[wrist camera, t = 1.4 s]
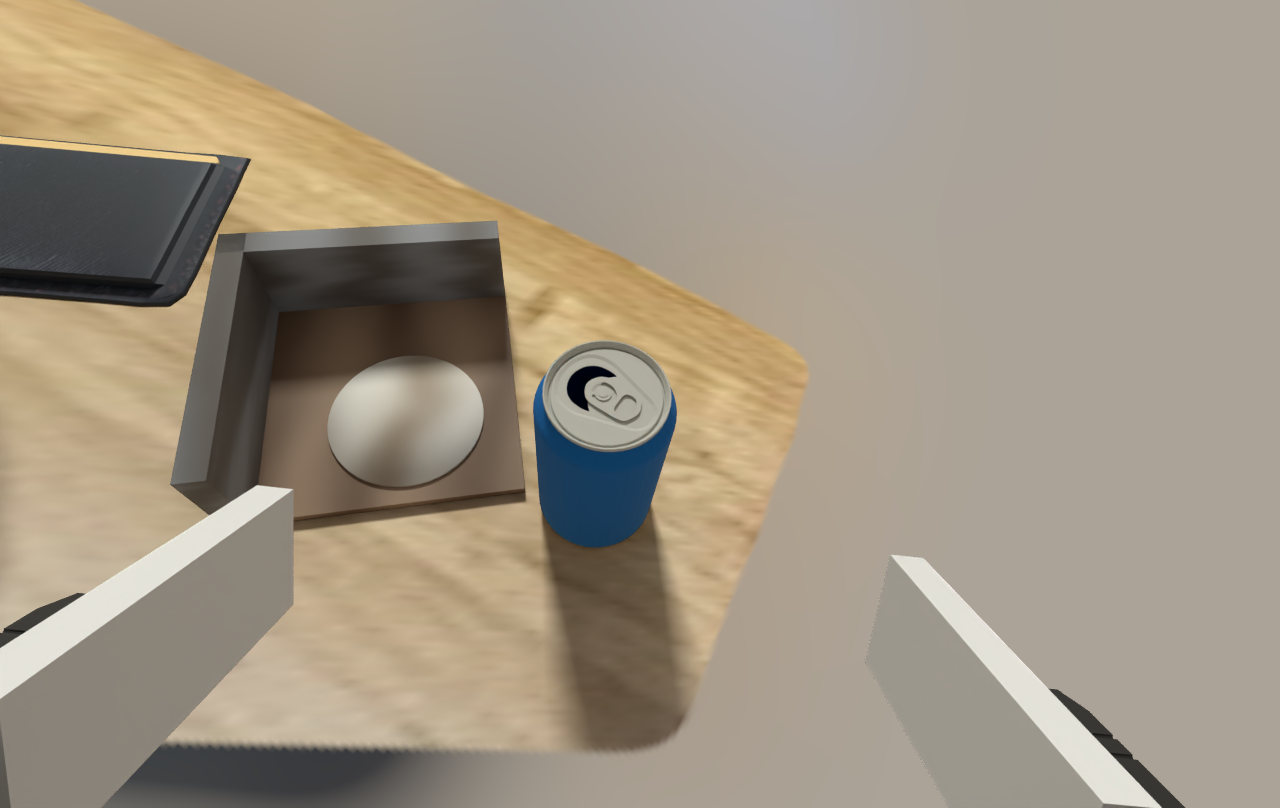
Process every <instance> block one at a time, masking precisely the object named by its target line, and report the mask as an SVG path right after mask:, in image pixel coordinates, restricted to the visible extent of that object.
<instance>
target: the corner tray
mask: <svg viewBox="0 0 1280 808" xmlns="http://www.w3.org/2000/svg"><path fill="white" fill-rule="evenodd" d="M170 485H171V486H173V487H174V488H175V489H177V490H178V491H179V492H180V493H182V494H183V495H184V496H186V497H187V498H188V499H189V500H191V501H192V502H193V503H195V504H196V505H197V506H198V507H200V508H201V509H202V510H203V511H205V512H206V513H207V514H209V515H211V514H213V513H214V512H216V511H217V510H219V509H220V508H222V507H224V506H225V505H227V504H228V503H230V502H231V501H233V500H235V499H236V498H238V497H239V496H241V495H243V494H244V493H246V492H247V491H249V490H250V489H252V488H254V487H255V486H257V485H259V486H268V487H277V488H286V489H293V521H297V520H305V519H312V518H320V517H328V516H336V515H344V514H352V513H360V512H368V511H376V510H384V509H392V508H400V507H408V506H416V505H424V504H432V503H440V502H448V501H455V500H463V499H471V498H479V497H487V496H495V495H503V494H511V493H519V492H525V486H524V476H523V466H522V456H521V446H520V436H519V426H518V417H517V407H516V397H515V387H514V377H513V367H512V358H511V348H510V338H509V328H508V318H507V308H506V299H505V289H504V279H503V270H502V261H501V252H500V243H499V234H498V225H497V221H482V222H462V223H441V224H421V225H400V226H380V227H359V228H339V229H318V230H298V231H278V232H257V233H237V234H218V240H217V245H216V250H215V255H214V260H213V266H212V271H211V276H210V281H209V286H208V291H207V297H206V302H205V307H204V312H203V317H202V323H201V328H200V333H199V338H198V343H197V349H196V354H195V359H194V364H193V369H192V374H191V380H190V385H189V390H188V395H187V400H186V406H185V411H184V416H183V421H182V426H181V432H180V437H179V442H178V447H177V452H176V458H175V463H174V468H173V473H172V478H171V483H170Z"/></svg>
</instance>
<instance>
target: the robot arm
mask: <svg viewBox="0 0 1280 808" xmlns="http://www.w3.org/2000/svg"><path fill="white" fill-rule="evenodd" d="M292 605H293V489H286V488H277V487H268V486H259V485H257V486H255V487H254V488H252V489H250V490H249V491H247V492H246V493H244V494H243V495H241V496H239V497H238V498H236V499H235V500H233V501H231V502H230V503H228V504H227V505H225V506H224V507H222V508H220V509H219V510H217V511H216V512H214V513H213V514H211V515H209V516H208V517H206V518H205V519H203V520H202V521H200V522H198V523H197V524H195V525H194V526H192V527H190V528H189V529H187V530H186V531H184V532H183V533H181V534H179V535H178V536H176V537H175V538H173V539H172V540H170V541H168V542H167V543H165V544H164V545H162V546H160V547H159V548H157V549H156V550H154V551H153V552H151V553H149V554H148V555H146V556H145V557H143V558H142V559H140V560H138V561H137V562H135V563H134V564H132V565H131V566H129V567H127V568H126V569H124V570H123V571H121V572H119V573H118V574H116V575H115V576H113V577H112V578H110V579H108V580H107V581H105V582H104V583H102V584H101V585H99V586H97V587H96V588H94V589H93V590H91V591H89V592H88V593H86V594H83V593H77V594H74V595H71V596H69V597H66V598H64V599H61V600H58V601H56V602H53V603H51V604H48V605H45V606H43V607H40V608H38V609H36V610H34V611H32V612H31V613H29V614H27V615H26V616H24V617H23V618H21V619H19V620H18V621H16V622H14V623H13V624H11V625H9V626H8V627H6V628H4V631H3V633H0V808H101V807H102V806H103V805H104V804H105V803H106V802H107V801H108V800H109V798H111V796H112V795H113V794H114V793H115V792H116V791H117V790H118V789H119V788H120V787H121V786H122V785H123V784H124V783H125V782H126V781H127V780H128V778H130V776H131V775H132V774H133V773H134V772H135V771H136V770H137V769H138V768H139V767H140V766H141V765H142V764H143V763H144V762H145V761H146V759H147V758H148V757H149V756H150V755H151V754H152V753H153V752H154V751H155V750H156V749H157V748H158V747H159V746H160V745H161V744H162V743H163V742H164V741H165V739H166V738H167V737H168V736H169V735H170V734H171V733H172V732H173V731H174V730H175V729H176V728H177V727H178V726H179V725H180V724H181V723H182V721H183V720H184V719H185V718H186V717H187V716H188V715H189V714H190V713H191V712H192V711H193V710H194V709H195V708H196V707H197V706H198V705H199V704H200V702H201V701H202V700H203V699H204V698H205V697H206V696H207V695H208V694H209V693H210V692H211V691H212V690H213V689H214V688H215V687H216V686H217V684H218V683H219V682H220V681H221V680H222V679H223V678H224V677H225V676H226V675H227V674H228V673H229V672H230V671H231V670H232V669H233V668H234V666H235V665H236V664H237V663H238V662H239V661H240V660H241V659H242V658H243V657H244V656H245V655H246V654H247V653H248V652H249V651H250V650H251V649H252V647H253V646H254V645H255V644H256V643H257V642H258V641H259V640H260V639H261V638H262V637H263V636H264V635H265V634H266V633H267V632H268V631H269V629H270V628H271V627H272V626H273V625H274V624H275V623H276V622H277V621H278V620H279V619H280V618H281V617H282V616H283V615H284V614H285V613H286V612H287V610H288V609H289V608H290V607H291V606H292ZM865 663H866V665H867V667H868V668H869V670H870V672H871V674H872V675H873V677H874V679H875V681H876V682H877V684H878V686H879V688H880V689H881V691H882V693H883V695H884V696H885V698H886V700H887V702H888V703H889V705H890V707H891V709H892V710H893V712H894V714H895V715H896V717H897V719H898V721H899V722H900V724H901V726H902V728H903V730H904V731H905V733H906V735H907V736H908V738H909V740H910V742H911V744H912V745H913V747H914V749H915V751H916V752H917V754H918V756H919V758H920V759H921V761H922V763H923V765H924V766H925V768H926V770H927V771H928V773H929V775H930V777H931V778H932V780H933V782H934V784H935V785H936V787H937V789H938V791H939V792H940V794H941V796H942V797H943V799H944V801H945V803H946V805H947V806H948V808H1185V807H1184V806H1183V805H1182V804H1181V803H1180V802H1179V801H1178V800H1177V799H1176V798H1175V797H1174V796H1173V795H1172V794H1171V793H1170V792H1169V791H1168V790H1167V789H1166V788H1165V787H1164V786H1163V785H1162V784H1161V783H1160V782H1159V781H1158V780H1157V779H1156V778H1155V777H1154V776H1153V775H1152V774H1151V773H1150V772H1149V771H1148V770H1147V769H1146V768H1145V767H1144V766H1143V765H1142V764H1141V763H1140V762H1139V761H1138V760H1134V759H1133V757H1132V754H1131V753H1130V752H1129V751H1128V750H1127V749H1126V748H1125V747H1124V746H1123V745H1122V744H1121V743H1120V742H1119V741H1118V740H1116V739H1113V737H1112V736H1113V735H1112V734H1111V733H1110V732H1109V731H1108V730H1107V729H1106V728H1105V727H1104V726H1103V725H1102V724H1101V723H1100V722H1099V721H1098V720H1097V719H1096V718H1095V717H1094V716H1093V715H1092V714H1091V713H1090V712H1089V711H1088V710H1086V709H1085V708H1084V707H1082V706H1081V705H1079V704H1078V703H1076V702H1075V701H1073V700H1072V699H1070V698H1069V697H1067V696H1066V695H1064V694H1063V693H1062V692H1060V691H1059V690H1055V689H1048V688H1047V687H1046V686H1045V685H1044V684H1043V683H1042V682H1041V681H1040V680H1039V679H1038V678H1037V677H1036V675H1035V674H1033V672H1032V671H1031V670H1030V669H1029V668H1028V667H1027V666H1026V665H1025V664H1024V663H1023V662H1022V661H1021V660H1020V659H1019V658H1018V657H1017V656H1016V655H1015V653H1013V652H1012V650H1011V649H1010V648H1009V647H1008V646H1007V645H1006V644H1005V643H1004V642H1003V641H1002V640H1001V639H1000V638H999V637H998V636H997V635H996V634H995V633H994V632H993V631H992V629H991V628H990V627H989V626H988V625H987V624H986V623H985V622H984V621H983V620H982V619H981V618H980V617H979V616H978V615H977V614H976V613H975V612H974V611H973V610H972V609H971V607H970V606H969V605H968V604H967V603H966V602H965V601H964V600H963V599H962V598H961V597H960V596H959V595H958V594H957V593H956V592H955V591H954V590H953V589H952V588H951V587H950V586H949V584H948V583H947V582H946V581H945V580H943V578H942V577H941V576H940V575H939V574H938V573H937V572H936V571H935V570H934V569H933V568H932V567H931V566H930V565H929V564H928V562H927V561H925V559H924V558H916V557H907V556H897V555H890V558H889V562H888V567H887V571H886V575H885V579H884V584H883V588H882V592H881V596H880V600H879V605H878V609H877V613H876V617H875V622H874V626H873V630H872V634H871V639H870V643H869V647H868V651H867V656H866V661H865Z"/></svg>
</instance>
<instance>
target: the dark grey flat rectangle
mask: <svg viewBox="0 0 1280 808" xmlns="http://www.w3.org/2000/svg"><path fill="white" fill-rule="evenodd" d="M250 160H251V159H248V158H241V157H233V156H225V155H215V154H200V153H185V152H174V151H163V150H152V149H141V148H130V147H120V146H109V145H98V144H87V143H76V142H65V141H54V140H43V139H32V138H22V137H11V136H0V295H14V296H27V297H39V298H52V299H64V300H76V301H89V302H101V303H112V304H123V305H133V306H171V305H172V304H174V303H175V302H177V301H178V300H179V299H181V298H182V297H184V296H185V295H186V294H187V292H188V290H189V289H190V287H191V285H192V283H193V281H194V279H195V278H196V276H197V274H198V272H199V269H200V267H201V265H202V263H203V260H204V258H205V256H206V254H207V252H208V249H209V247H210V245H211V243H212V241H213V238H214V236H215V234H216V232H217V230H218V227H219V225H220V223H221V221H222V219H223V217H224V215H225V213H226V211H227V209H228V207H229V205H230V203H231V201H232V199H233V197H234V195H235V193H236V191H237V189H238V187H239V184H240V182H241V180H242V178H243V175H244V173H245V171H246V169H247V167H248V165H249V163H250Z"/></svg>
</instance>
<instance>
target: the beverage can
mask: <svg viewBox="0 0 1280 808" xmlns="http://www.w3.org/2000/svg"><path fill="white" fill-rule="evenodd" d="M533 414H534V428H535V442H536V456H537V470H538V485H539V498H540V505H541V509H542V512H543V515H544V517H545V519H546V520H547V522H548V524H549V525H550V526H551V528H552V529H553V530H554V531H555V532H556V533H557V534H559V535H560V536H561V537H563V538H564V539H566V540H568V541H569V542H572V543H574V544H577V545H580V546H584V547H606V546H610V545H614V544H617V543H619V542H621V541H623V540H625V539H627V538H628V537H630V536H631V535H632V534H633V533H634V532H635V531H636V530H637V529H638V528H639V527H640V526H641V524H642V523H643V521H644V520H645V518H646V516H647V513H648V511H649V508H650V504H651V501H652V498H653V495H654V492H655V489H656V485H657V482H658V479H659V476H660V473H661V470H662V467H663V463H664V460H665V457H666V454H667V451H668V448H669V445H670V441H671V438H672V435H673V432H674V429H675V424H676V416H677V410H676V402H675V398H674V395H673V392H672V389H671V387H670V384H669V381H668V379H667V376H666V374H665V373H664V371H663V369H662V368H661V367H660V365H659V364H658V363H657V362H656V361H655V360H654V359H653V358H652V357H651V356H649V355H648V354H647V353H645V352H644V351H642V350H640V349H638V348H636V347H634V346H631V345H629V344H626V343H622V342H617V341H608V340H600V341H591V342H586V343H583V344H580V345H577V346H575V347H573V348H571V349H569V350H567V351H566V352H564V353H563V354H562V355H560V356H559V357H558V358H557V359H556V360H555V361H554V363H553V364H552V365H551V367H550V368H549V370H548V372H547V373H546V375H545V376H544V377H543V379H542V381H541V382H540V384H539V386H538V389H537V391H536V394H535V398H534V406H533Z"/></svg>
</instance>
